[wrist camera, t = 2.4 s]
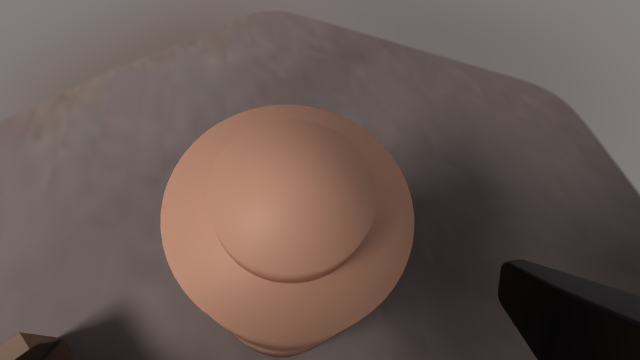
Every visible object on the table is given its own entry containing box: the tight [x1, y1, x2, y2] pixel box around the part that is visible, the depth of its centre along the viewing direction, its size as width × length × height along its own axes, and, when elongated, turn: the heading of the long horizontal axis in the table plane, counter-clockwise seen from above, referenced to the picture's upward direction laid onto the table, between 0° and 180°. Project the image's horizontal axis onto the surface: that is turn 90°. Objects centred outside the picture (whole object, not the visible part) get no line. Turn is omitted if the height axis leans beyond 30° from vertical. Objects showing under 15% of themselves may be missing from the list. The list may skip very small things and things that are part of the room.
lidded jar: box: [161, 105, 414, 357], centre depth 12 cm, size 5×5×11 cm
